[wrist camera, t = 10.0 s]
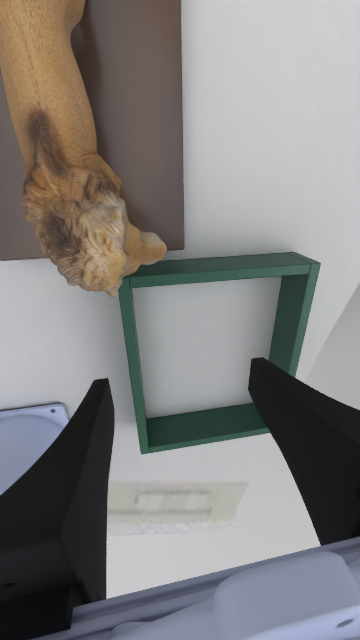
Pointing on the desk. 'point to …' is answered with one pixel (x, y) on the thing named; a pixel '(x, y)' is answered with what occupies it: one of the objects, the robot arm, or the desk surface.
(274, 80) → the desk surface
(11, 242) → the stand
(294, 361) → the storage box
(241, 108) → the desk surface
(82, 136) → the lion figurine
